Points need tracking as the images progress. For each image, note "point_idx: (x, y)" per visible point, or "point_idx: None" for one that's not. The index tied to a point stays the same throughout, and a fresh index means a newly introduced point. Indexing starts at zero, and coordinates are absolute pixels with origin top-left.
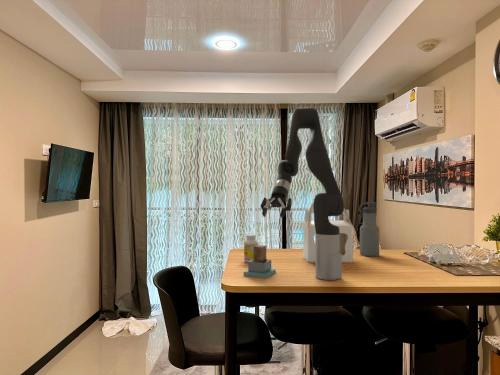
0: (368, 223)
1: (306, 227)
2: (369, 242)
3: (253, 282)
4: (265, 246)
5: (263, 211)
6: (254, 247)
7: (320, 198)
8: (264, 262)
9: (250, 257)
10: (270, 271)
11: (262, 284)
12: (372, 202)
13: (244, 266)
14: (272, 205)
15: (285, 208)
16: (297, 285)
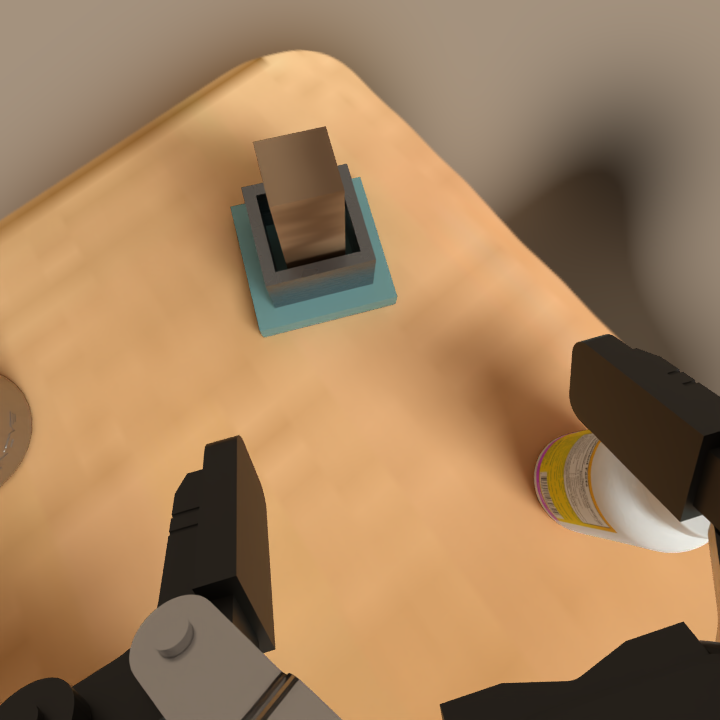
0: None
1: None
2: None
3: (243, 131)
4: (266, 194)
5: (651, 363)
6: (318, 132)
7: None
8: (252, 199)
9: (562, 440)
10: (250, 266)
11: (191, 131)
12: None
13: (500, 340)
14: (678, 648)
15: (151, 651)
16: (48, 210)
